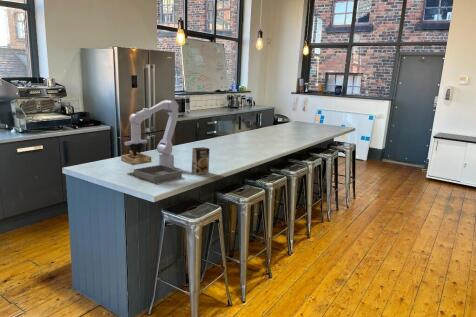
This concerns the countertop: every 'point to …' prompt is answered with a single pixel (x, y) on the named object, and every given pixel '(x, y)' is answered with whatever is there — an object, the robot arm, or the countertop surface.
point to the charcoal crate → (157, 173)
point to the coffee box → (200, 161)
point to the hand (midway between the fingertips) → (136, 155)
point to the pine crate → (136, 158)
